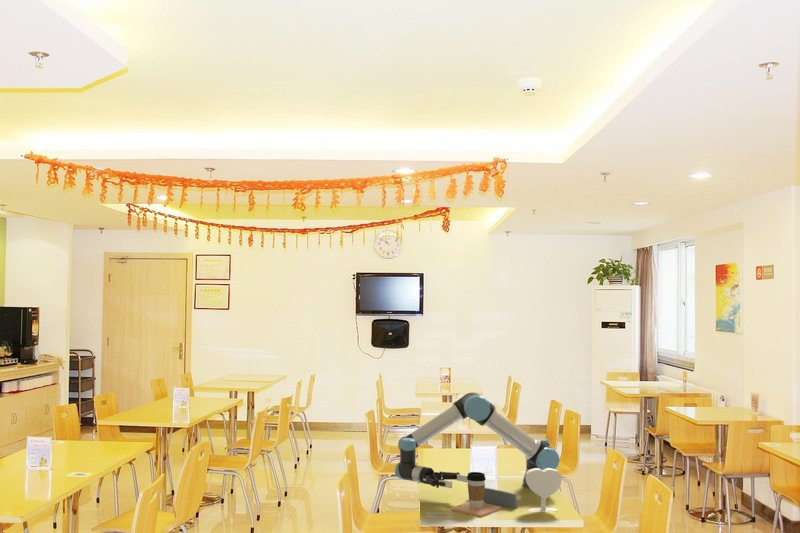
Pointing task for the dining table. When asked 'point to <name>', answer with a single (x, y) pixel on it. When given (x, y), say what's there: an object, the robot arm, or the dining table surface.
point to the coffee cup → (476, 489)
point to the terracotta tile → (476, 512)
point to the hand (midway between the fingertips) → (460, 482)
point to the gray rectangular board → (500, 497)
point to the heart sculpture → (543, 485)
